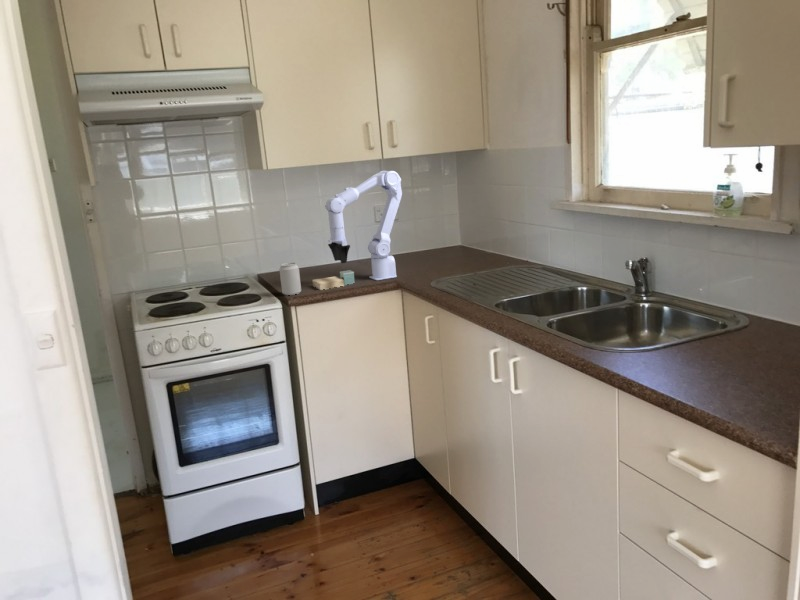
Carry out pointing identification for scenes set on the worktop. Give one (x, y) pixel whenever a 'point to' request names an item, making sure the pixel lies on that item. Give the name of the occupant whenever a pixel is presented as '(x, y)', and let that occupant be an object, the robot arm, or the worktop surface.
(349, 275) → the tin
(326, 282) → the beige square slab
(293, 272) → the can
